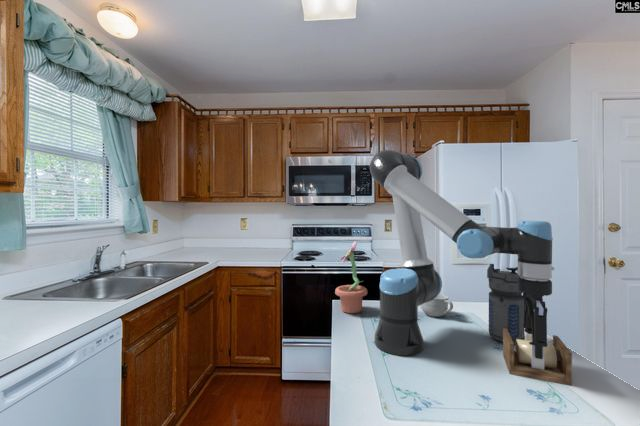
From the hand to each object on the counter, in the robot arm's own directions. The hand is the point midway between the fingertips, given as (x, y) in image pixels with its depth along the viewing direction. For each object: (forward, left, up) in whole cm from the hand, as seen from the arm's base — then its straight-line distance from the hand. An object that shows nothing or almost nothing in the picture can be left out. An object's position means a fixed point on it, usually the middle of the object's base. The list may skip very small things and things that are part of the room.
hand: (534, 363), depth 80 cm
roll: (0, 0, +3) cm, 3 cm away
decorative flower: (-60, +25, -2) cm, 65 cm away
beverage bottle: (-3, +19, -2) cm, 19 cm away
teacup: (-26, +33, -2) cm, 42 cm away
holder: (0, 0, -2) cm, 2 cm away
